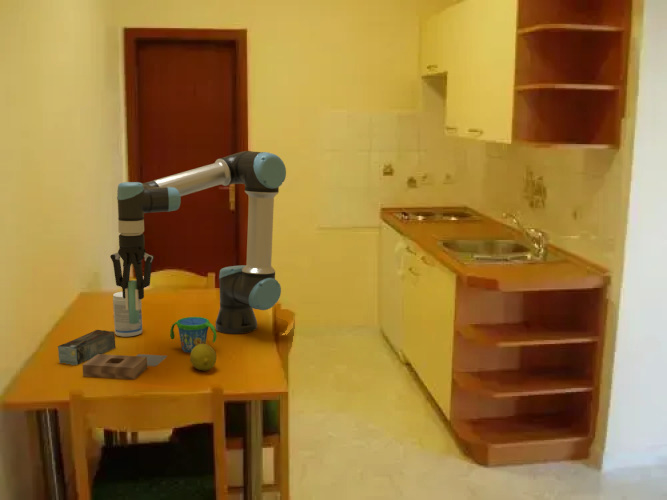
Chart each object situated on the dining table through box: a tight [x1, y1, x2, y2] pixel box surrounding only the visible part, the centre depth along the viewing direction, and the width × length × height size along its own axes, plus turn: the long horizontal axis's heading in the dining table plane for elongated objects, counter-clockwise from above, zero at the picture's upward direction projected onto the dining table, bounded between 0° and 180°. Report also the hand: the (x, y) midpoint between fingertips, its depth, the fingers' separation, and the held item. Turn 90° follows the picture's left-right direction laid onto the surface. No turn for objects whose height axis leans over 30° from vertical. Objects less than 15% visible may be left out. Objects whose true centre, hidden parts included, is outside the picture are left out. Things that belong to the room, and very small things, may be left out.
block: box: [82, 353, 148, 381], centre depth 225 cm, size 16×10×4 cm, turn 81°
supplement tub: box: [112, 290, 143, 338], centre depth 264 cm, size 10×10×15 cm
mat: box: [136, 353, 168, 367], centre depth 236 cm, size 10×10×1 cm
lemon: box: [189, 343, 217, 372], centre depth 229 cm, size 11×8×8 cm
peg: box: [128, 279, 139, 324], centre depth 229 cm, size 3×3×13 cm
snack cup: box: [169, 316, 218, 354], centre depth 247 cm, size 16×10×10 cm
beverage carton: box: [57, 329, 116, 366], centre depth 241 cm, size 8×19×7 cm, turn 158°
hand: (133, 308), depth 229 cm, fingers closed on peg, 2 cm apart
